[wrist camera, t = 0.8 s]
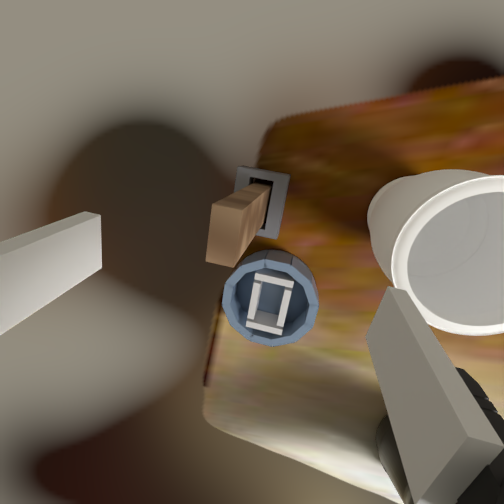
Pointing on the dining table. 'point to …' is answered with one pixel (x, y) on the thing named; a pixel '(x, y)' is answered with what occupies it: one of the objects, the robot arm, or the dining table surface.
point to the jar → (444, 246)
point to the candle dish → (271, 298)
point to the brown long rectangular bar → (236, 223)
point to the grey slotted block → (277, 196)
